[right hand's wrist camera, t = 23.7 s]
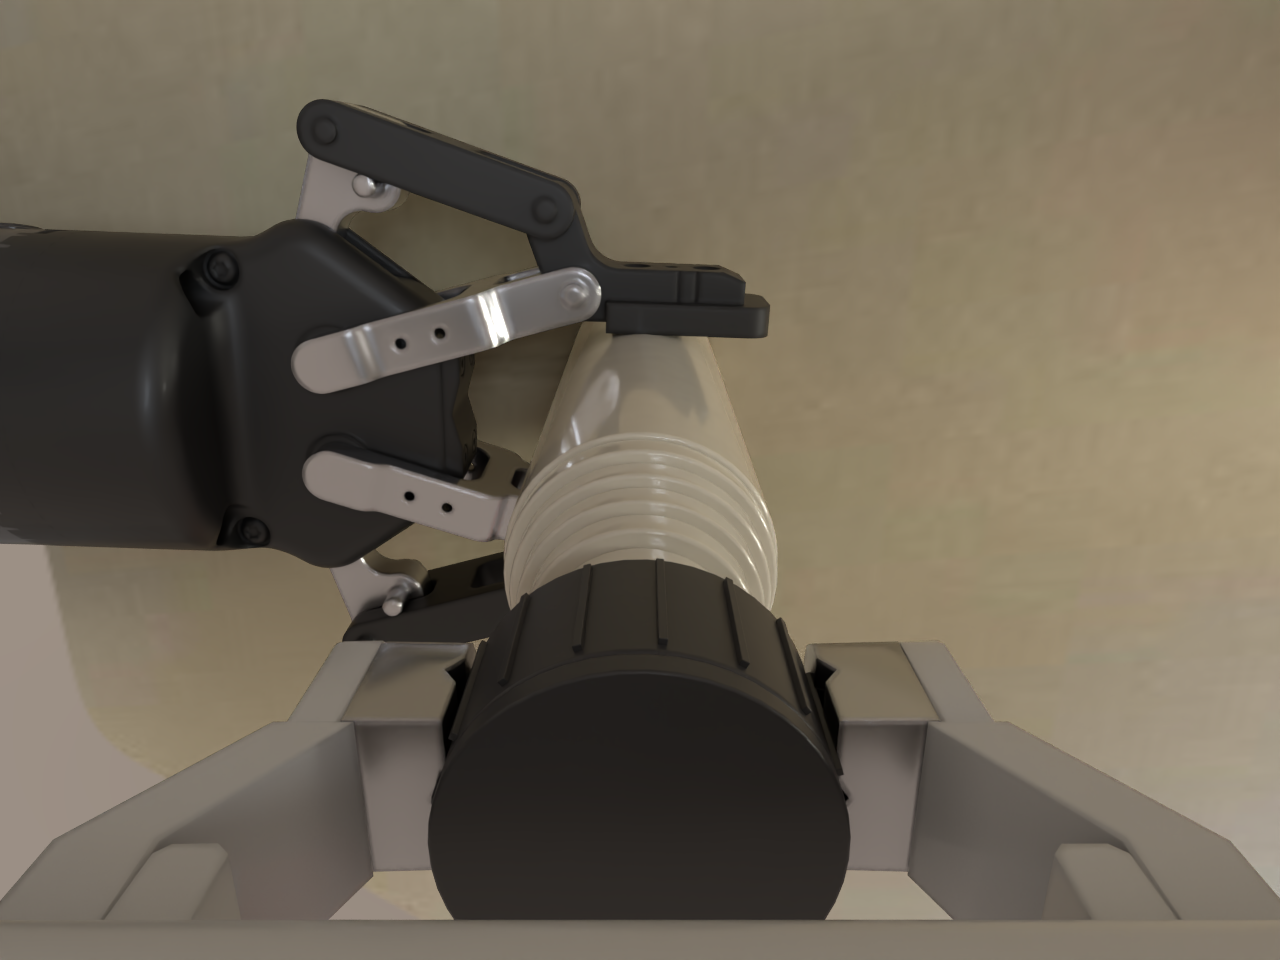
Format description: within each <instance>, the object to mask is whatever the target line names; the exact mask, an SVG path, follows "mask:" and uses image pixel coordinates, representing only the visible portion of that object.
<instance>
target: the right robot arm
mask: <svg viewBox="0 0 1280 960" xmlns="http://www.w3.org/2000/svg"><path fill="white" fill-rule="evenodd" d="M475 656H476V650H475V648H474V645H473V643H442V642H390V641H388V642H384V641H344V642H340V643H337V644H336V645H335V646H334V648H333V649H332V651H331V652H330V654H329V656H328V657H327V659H326V660H325V662H324V663H323V665H322V667H321V668H320V670H319V671H318V673H317V675H316V676H315V678H314V679H313V681H312V682H311V684H310V686H309V687H308V689H307V690H306V692H305V694H304V695H303V697H302V698H301V700H300V701H299V703H298V705H297V706H296V708H295V709H294V711H293V713H292V714H291V716H290V717H289V719H288V720H287V722H272V723H270V724H268V725H266V726H264V727H262V728H261V729H259V730H257V731H255V732H253V733H251V734H249V735H248V736H246V737H244V738H242V739H240V740H238V741H236V742H234V743H233V744H231V745H229V746H227V747H225V748H223V749H221V750H220V751H218V752H216V753H214V754H212V755H210V756H208V757H207V758H205V759H203V760H201V761H199V762H197V763H195V764H193V765H192V766H190V767H188V768H186V769H184V770H182V771H180V772H179V773H177V774H175V775H173V776H171V777H169V778H167V779H166V780H164V781H162V782H160V783H158V784H156V785H154V786H153V787H151V788H149V789H147V790H145V791H143V792H141V793H139V794H138V795H136V796H134V797H132V798H130V799H128V800H126V801H124V802H123V803H121V804H119V805H117V806H115V807H113V808H111V809H110V810H108V811H106V812H104V813H102V814H100V815H98V816H97V817H95V818H93V819H91V820H89V821H87V822H85V823H84V824H82V825H80V826H78V827H76V828H74V829H72V830H70V831H69V832H67V833H65V834H63V835H61V836H59V837H57V838H56V839H54V840H53V841H52V842H51V843H50V844H49V845H48V846H47V848H46V849H45V850H44V851H43V852H42V853H41V854H40V856H39V857H38V858H37V859H36V860H35V861H34V863H33V864H32V865H31V866H30V867H29V868H28V869H27V871H26V872H25V873H24V874H23V875H22V876H21V878H20V879H19V880H18V881H17V882H16V883H15V884H14V886H13V887H12V888H11V889H10V890H9V891H8V893H7V894H6V895H5V896H4V897H3V898H2V900H1V901H0V960H1280V898H1279V897H1278V896H1277V895H1276V894H1275V892H1274V891H1273V890H1272V889H1271V888H1270V887H1269V885H1268V884H1267V883H1266V882H1265V881H1264V880H1263V878H1262V877H1261V876H1260V875H1259V874H1258V873H1257V871H1256V870H1255V869H1254V868H1253V867H1252V866H1251V864H1250V863H1249V862H1248V861H1247V860H1246V859H1245V857H1244V856H1243V855H1242V854H1241V853H1240V852H1239V851H1238V849H1237V848H1236V847H1235V846H1234V845H1233V844H1232V842H1231V841H1229V840H1227V839H1226V838H1224V837H1222V836H1220V835H1218V834H1216V833H1214V832H1213V831H1211V830H1209V829H1207V828H1205V827H1203V826H1201V825H1199V824H1198V823H1196V822H1194V821H1192V820H1190V819H1188V818H1186V817H1185V816H1183V815H1181V814H1179V813H1177V812H1175V811H1173V810H1172V809H1170V808H1168V807H1166V806H1164V805H1162V804H1160V803H1159V802H1157V801H1155V800H1153V799H1151V798H1149V797H1147V796H1146V795H1144V794H1142V793H1140V792H1138V791H1136V790H1134V789H1133V788H1131V787H1129V786H1127V785H1125V784H1123V783H1121V782H1119V781H1118V780H1116V779H1114V778H1112V777H1110V776H1108V775H1106V774H1105V773H1103V772H1101V771H1099V770H1097V769H1095V768H1093V767H1092V766H1090V765H1088V764H1086V763H1084V762H1082V761H1080V760H1079V759H1077V758H1075V757H1073V756H1071V755H1069V754H1067V753H1066V752H1064V751H1062V750H1060V749H1058V748H1056V747H1054V746H1052V745H1051V744H1049V743H1047V742H1045V741H1043V740H1041V739H1039V738H1038V737H1036V736H1034V735H1032V734H1030V733H1028V732H1026V731H1025V730H1023V729H1021V728H1019V727H1017V726H1015V725H1013V724H1012V723H1010V722H995V721H994V720H993V718H992V717H991V715H990V714H989V712H988V711H987V709H986V707H985V706H984V704H983V703H982V701H981V700H980V698H979V697H978V695H977V693H976V692H975V690H974V689H973V687H972V686H971V684H970V683H969V681H968V679H967V678H966V676H965V675H964V673H963V672H962V670H961V669H960V667H959V665H958V664H957V662H956V661H955V659H954V658H953V656H952V655H951V653H950V651H949V650H948V648H947V647H946V645H945V644H944V643H942V642H940V641H938V640H934V641H911V642H864V643H823V644H809V645H807V647H806V652H805V656H804V669H805V673H807V672H810V675H811V678H812V682H813V685H814V688H816V689H817V692H818V695H819V698H820V701H821V704H822V707H823V715H824V718H825V721H826V724H827V727H828V730H829V733H830V736H831V739H832V742H833V745H834V748H835V751H836V754H838V756H839V759H840V763H841V766H842V769H843V773H844V775H842V776H838V778H839V781H840V784H841V788H842V791H843V794H844V798H845V802H846V806H847V810H848V813H849V822H850V833H851V841H850V855H849V862H848V866H847V870H869V871H905V872H908V876H909V877H910V878H911V879H912V880H913V881H914V882H915V883H916V884H917V885H918V886H919V887H920V888H921V889H923V890H924V891H925V892H926V893H927V894H928V895H929V896H930V897H931V898H932V899H933V900H934V901H935V902H936V903H937V904H938V905H939V906H940V907H941V908H942V909H943V910H944V911H945V912H946V913H947V914H948V915H949V916H950V917H951V918H952V919H953V920H328V919H329V918H330V917H332V916H333V915H334V914H335V913H336V912H337V911H338V910H339V909H340V908H341V907H342V906H343V905H344V904H345V903H346V902H347V901H348V900H349V899H350V898H351V897H352V896H353V895H354V894H355V893H356V892H357V891H358V890H359V889H360V888H361V887H362V886H364V885H365V884H366V883H367V882H368V881H369V880H370V879H371V878H372V877H373V872H376V871H411V870H432V869H431V865H430V857H429V850H428V821H429V816H430V811H431V806H432V804H431V797H432V794H433V791H434V788H435V785H436V783H438V782H439V779H440V776H441V773H442V769H443V766H444V763H445V760H446V757H447V754H448V751H449V748H450V745H451V742H452V740H450V739H448V737H449V734H450V731H451V728H452V725H453V722H454V719H455V716H456V713H457V710H458V707H459V704H460V701H461V698H462V695H463V692H464V689H465V686H466V683H467V680H468V677H469V674H470V671H471V668H472V665H473V662H474V659H475Z"/></svg>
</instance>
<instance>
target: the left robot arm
mask: <svg viewBox="0 0 1280 960" xmlns="http://www.w3.org/2000/svg"><path fill="white" fill-rule="evenodd" d="M297 134H298V138H299V140H300V143H301V144H302V146H303V148H304V149H305V150H306V151H307V152H308V153H309V156H308V161H307V166H306V171H305V175H304V180H303V185H302V190H301V195H300V200H299V204H298V209H297V214H296V219H292V220H287V221H283V222H280V223H278V224H276V225H274V226H273V227H271V228H269V229H268V230H266V231H264V232H262V233H260V234H258V235H256V236H247V237H235V236H208V235H181V234H154V233H128V232H101V231H75V230H47V229H45V230H42V229H41V228H38V227H34V226H28V225H21V224H12V223H0V544H34V545H58V546H88V547H117V548H148V549H178V550H208V551H220V550H236V549H246V548H261V547H264V548H273V549H277V550H281V551H284V552H286V553H289V554H291V555H294V556H296V557H298V558H300V559H302V560H303V561H305V562H307V563H309V564H312V565H315V566H319V567H324V568H330V570H331V573H332V575H333V577H334V580H335V582H336V584H337V586H338V589H339V591H340V593H341V596H342V598H343V600H344V603H345V605H346V607H347V610H348V612H349V614H350V616H351V619H352V623H351V624H350V626H349V628H348V629H347V631H346V633H345V634H344V636H343V640H342V642H344V641H384V642H388V641H390V642H442V643H467V642H471V641H475V640H479V639H484V638H488V637H490V635H491V634H492V632H493V631H494V630H495V628H496V627H497V626H498V624H499V623H500V622H501V620H502V619H503V618H504V617H505V616H506V615H507V614H508V613H509V612H510V611H511V610H510V607H509V605H508V600H507V596H506V592H505V584H504V552H500V553H496V554H492V555H488V556H484V557H480V558H476V559H472V560H468V561H464V562H460V563H456V564H452V565H448V566H444V567H440V568H436V569H432V570H428V571H427V569H426V568H425V567H424V566H423V565H422V563H421V562H419V561H418V560H411V559H399V560H394V559H389V558H386V557H384V556H382V555H381V554H380V553H378V552H377V551H376V548H377V547H379V546H380V545H382V544H383V543H385V542H386V541H388V540H390V539H391V538H393V537H394V536H396V535H397V534H399V533H400V532H402V531H403V530H405V529H406V528H408V527H409V526H411V525H412V524H414V523H418V524H421V525H425V526H428V527H431V528H435V529H438V530H441V531H445V532H448V533H451V534H455V535H458V536H461V537H465V538H468V539H471V540H475V541H481V542H488V541H492V540H495V539H502V540H505V536H506V532H507V527H508V523H509V520H510V518H511V515H512V512H513V509H514V507H515V504H516V501H517V498H518V496H519V493H520V490H521V487H522V485H523V482H524V479H525V476H526V474H527V471H528V468H529V465H530V463H528V462H526V461H524V460H523V459H522V458H521V457H520V456H519V455H518V454H516V453H514V452H512V451H510V450H507V449H504V448H501V447H498V446H495V445H491V444H488V443H485V442H482V441H479V440H477V426H476V421H475V417H474V414H473V411H472V407H471V404H470V401H469V398H468V388H469V384H470V380H471V376H472V372H473V368H474V364H475V357H474V353H477V352H481V351H485V350H488V349H491V348H494V347H497V346H499V345H501V344H503V343H505V342H508V341H510V340H513V339H517V338H520V337H524V336H528V335H532V334H536V333H540V332H543V331H547V330H551V329H555V328H559V327H563V326H566V325H570V324H574V323H578V322H582V321H588V322H606V333H610V334H649V335H667V336H696V337H725V338H763V337H766V336H767V335H768V323H769V311H770V305H769V304H768V302H767V301H766V300H765V299H764V298H763V297H762V296H759V295H754V294H745V284H746V282H745V281H744V280H743V279H742V277H741V276H740V275H739V274H737V273H735V272H733V271H730V270H728V269H726V268H724V267H722V266H719V265H700V264H696V265H694V264H672V263H645V262H620V261H614V260H611V259H609V258H607V257H605V256H603V255H602V254H601V253H600V252H599V251H598V250H597V249H596V248H595V246H594V245H593V243H592V241H591V238H590V236H589V233H588V230H587V227H586V224H585V221H584V218H583V215H582V212H581V209H580V208H581V201H580V196H579V194H578V191H577V190H576V188H575V187H574V186H573V185H572V184H571V183H570V182H568V181H567V180H565V179H562V178H560V177H557V176H554V175H552V174H549V173H546V172H543V171H541V170H538V169H535V168H532V167H530V166H527V165H524V164H521V163H519V162H516V161H513V160H510V159H508V158H505V157H502V156H499V155H497V154H494V153H491V152H489V151H486V150H483V149H480V148H478V147H475V146H472V145H469V144H467V143H464V142H461V141H458V140H456V139H453V138H450V137H447V136H445V135H442V134H439V133H437V132H434V131H431V130H428V129H426V128H423V127H420V126H417V125H415V124H412V123H409V122H406V121H404V120H401V119H398V118H395V117H393V116H390V115H387V114H384V113H382V112H379V111H376V110H374V109H371V108H368V107H365V106H361V105H355V104H351V103H345V102H340V101H332V100H325V99H319V100H315V101H312V102H310V103H308V104H307V105H306V106H305V107H304V108H303V109H302V110H301V112H300V113H299V116H298V119H297ZM409 192H411V193H414V194H417V195H420V196H422V197H425V198H428V199H431V200H434V201H437V202H439V203H442V204H445V205H448V206H451V207H453V208H456V209H459V210H462V211H465V212H467V213H470V214H473V215H476V216H479V217H481V218H484V219H487V220H490V221H493V222H496V223H498V224H501V225H504V226H507V227H510V228H512V229H515V230H518V231H521V232H524V233H526V234H527V237H528V240H529V242H530V245H531V248H532V251H533V254H534V256H535V259H536V262H537V265H538V266H535V267H532V268H528V269H524V270H520V271H517V272H513V273H508V274H500V275H495V276H491V277H488V278H484V279H480V280H476V281H473V282H469V283H465V284H461V285H458V286H454V287H450V288H446V289H443V290H439V291H435V292H434V291H433V290H431V289H430V288H429V287H427V286H426V285H425V284H423V283H422V282H421V281H419V280H418V279H417V278H415V277H414V276H413V275H411V274H410V273H409V272H407V271H406V270H404V269H403V268H402V267H400V266H399V265H398V264H396V263H395V262H394V261H392V260H391V259H390V258H388V257H387V256H386V255H384V254H383V253H382V252H380V251H379V250H378V249H376V248H375V247H373V246H372V245H371V244H369V243H368V242H367V241H365V240H364V239H363V238H361V237H360V236H359V235H357V234H356V233H355V232H353V231H352V230H351V229H349V228H348V227H349V224H350V222H351V220H352V218H353V217H354V216H355V215H356V214H357V213H359V212H360V211H366V212H372V213H380V212H385V211H389V210H393V209H396V208H398V207H400V206H401V205H402V204H403V203H404V202H405V201H406V199H407V197H408V195H409ZM471 463H472V464H473V465H471ZM448 503H449V504H451V505H449V504H448Z"/></svg>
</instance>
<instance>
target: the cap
mask: <svg viewBox="0 0 1280 960" xmlns="http://www.w3.org/2000/svg"><path fill="white" fill-rule="evenodd" d="M448 739H450V740H452V742H451V745H450V748H449V751H448V754H447V757H446V760H445V763H444V766H443V769H442V773H441V776H440V779H439V782H438V783H436V785H435V788H434V791H433V794H432V797H431V804H432V806H431V811H430V816H429V821H428V850H429V857H430V865H431V869H432V872H433V875H434V879H435V882H436V885H437V889H438V891H439V893H440V895H441V897H442V899H443V901H444V903H445V906H446V908H447V909H448V911H449V912H450V914H451V915H452V917H453V918H454V920H825V919H826V917H827V915H828V914H829V912H830V910H831V909H832V907H833V905H834V904H835V902H836V899H837V897H838V894H839V892H840V890H841V887H842V885H843V882H844V878H845V874H846V870H847V866H848V862H849V855H850V841H851V833H850V822H849V813H848V810H847V806H846V802H845V798H844V794H843V791H842V788H841V784H840V781H839V778H838V776H842V775H844V773H843V769H842V766H841V763H840V759H839V756H838V754H836V751H835V748H834V745H833V742H832V739H831V736H830V733H829V730H828V727H827V724H826V721H825V718H824V715H823V707H822V704H821V701H820V698H819V695H818V692H817V689H816V688H814V685H813V682H812V678H811V675H810V672H807V673H805V669H804V666H803V663H802V661H801V658H800V656H799V654H798V652H797V649H796V647H795V645H794V643H793V641H792V640H791V638H790V637H789V634H788V631H787V628H786V624H785V622H784V621H783V619H782V618H779V619H776V618H775V617H774V615H773V614H772V613H771V612H770V611H769V610H768V609H767V608H766V607H765V606H763V605H762V604H761V603H760V602H759V601H758V600H757V599H756V598H754V597H753V596H752V595H750V594H749V593H747V592H746V591H744V590H743V589H741V588H740V587H738V586H737V585H735V584H733V580H732V579H730V578H728V577H726V578H725V579H723V578H721V577H719V576H717V575H715V574H712V573H710V572H707V571H704V570H701V569H698V568H696V567H693V566H688V565H684V564H679V563H675V562H670V561H664V559H660V558H656V560H650V559H637V560H619V561H612V562H604V563H599V564H595V565H591V563H590V564H586V565H583V568H580V569H577V570H575V571H572V572H570V573H567V574H565V575H562V576H560V577H557V578H555V579H554V580H552V581H550V582H548V583H546V584H545V585H543V586H541V587H539V588H537V589H536V590H535V591H533V592H532V593H531V594H529V595H528V593H525V594H524V595H522V596H521V598H520V601H519V603H518V604H517V605H516V606H515V607H514V608H513V609H512V610H511V611H510V612H509V613H508V614H507V615H506V616H505V617H504V618H503V619H502V620H501V622H500V623H499V624H498V626H497V627H496V628H495V630H494V631H493V632H492V634H491V635H490V637H489V639H488V641H487V642H485V641H483V640H482V641H481V643H480V645H479V647H478V650H477V653H476V656H475V659H474V662H473V665H472V668H471V671H470V674H469V677H468V680H467V683H466V686H465V689H464V692H463V695H462V698H461V701H460V704H459V707H458V710H457V713H456V716H455V719H454V722H453V725H452V728H451V731H450V734H449V737H448Z"/></svg>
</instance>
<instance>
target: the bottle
mask: <svg viewBox="0 0 1280 960" xmlns="http://www.w3.org/2000/svg"><path fill="white" fill-rule="evenodd" d="M656 558H660V559H664V561H670V562H675V563H679V564H684V565H688V566H693V567H696V568H698V569H701V570H704V571H707V572H710V573H712V574H715V575H717V576H719V577H721V578H723V579H725V578H726V577H728V578H730V579H732V580H733V584H735V585H737V586H738V587H740V588H741V589H743V590H744V591H746V592H747V593H749V594H750V595H752V596H753V597H754V598H756V599H757V600H758V601H759V602H760V603H761V604H762V605H763V606H765V607H766V608H767V609H768V610H769V611H771V608H772V605H773V602H774V599H775V593H776V588H777V574H778V566H777V562H778V549H777V539H776V533H775V530H774V526H773V522H772V518H771V516H770V513H769V510H768V507H767V504H766V501H765V498H764V496H763V493H762V490H761V487H760V484H759V481H758V478H757V476H756V473H755V470H754V467H753V464H752V461H751V459H750V456H749V453H748V450H747V447H746V444H745V441H744V439H743V436H742V433H741V430H740V427H739V424H738V422H737V419H736V416H735V413H734V410H733V407H732V404H731V402H730V399H729V396H728V393H727V390H726V387H725V385H724V382H723V379H722V376H721V373H720V370H719V367H718V365H717V362H716V359H715V356H714V353H713V350H712V348H711V345H710V342H709V339H708V337H696V336H667V335H649V334H610V333H606V322H588V321H583V323H582V325H581V327H580V328H579V331H578V334H577V336H576V339H575V342H574V345H573V347H572V350H571V353H570V356H569V358H568V361H567V364H566V367H565V369H564V372H563V375H562V378H561V380H560V383H559V386H558V389H557V391H556V394H555V397H554V400H553V402H552V405H551V408H550V411H549V413H548V416H547V419H546V422H545V424H544V427H543V430H542V433H541V435H540V438H539V441H538V444H537V446H536V449H535V452H534V454H533V457H532V460H531V463H530V465H529V468H528V471H527V474H526V476H525V479H524V482H523V485H522V487H521V490H520V493H519V496H518V498H517V501H516V504H515V507H514V509H513V512H512V515H511V518H510V520H509V523H508V527H507V532H506V536H505V543H504V584H505V592H506V596H507V600H508V605H509V607H510V610H512V609H513V608H514V607H515V606H516V605H517V604H518V603H519V601H520V598H521V596H522V595H524V594H525V593H528V595H529V594H531V593H532V592H533V591H535V590H536V589H537V588H539V587H541V586H543V585H545V584H546V583H548V582H550V581H552V580H554V579H555V578H557V577H560V576H562V575H565V574H567V573H570V572H572V571H575V570H577V569H580V568H583V565H586V564H590V563H591V565H595V564H599V563H604V562H612V561H619V560H637V559H650V560H656Z"/></svg>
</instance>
